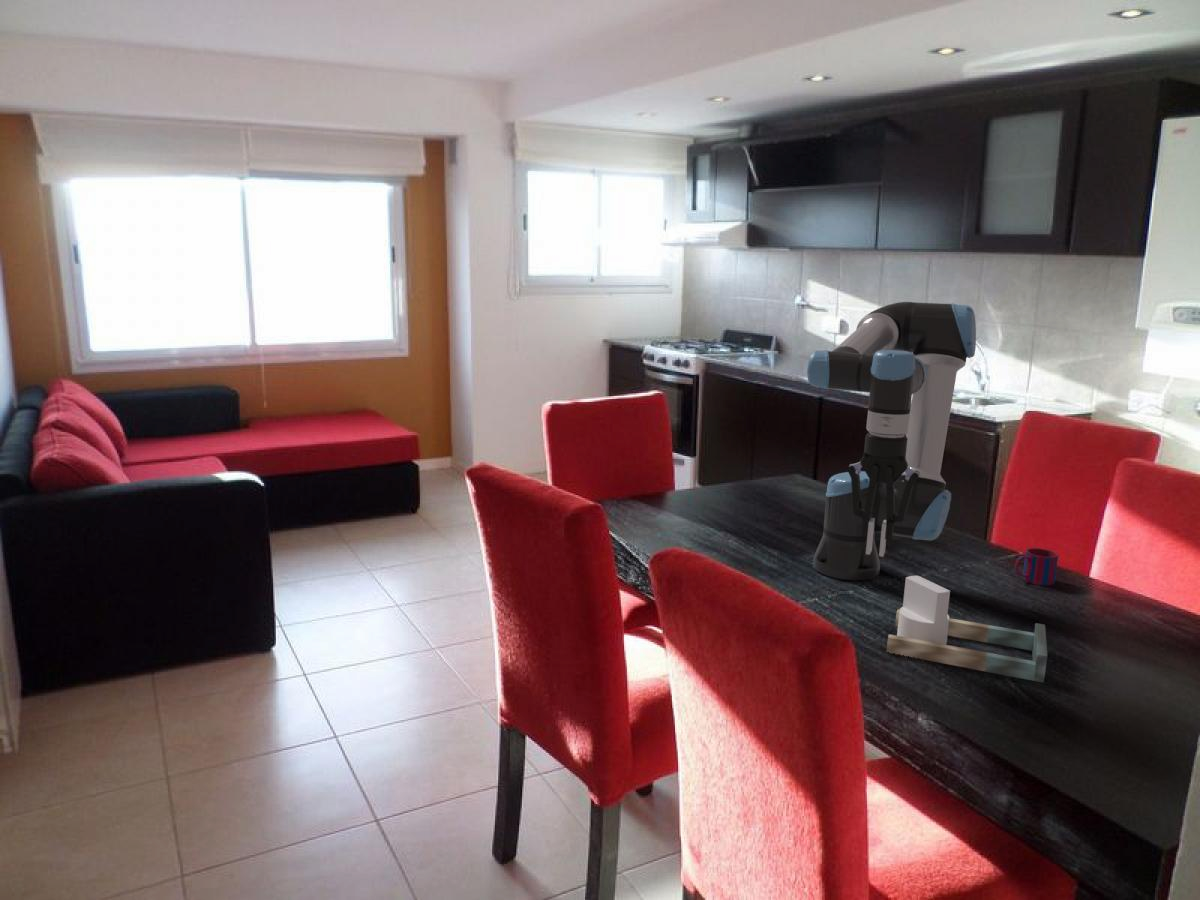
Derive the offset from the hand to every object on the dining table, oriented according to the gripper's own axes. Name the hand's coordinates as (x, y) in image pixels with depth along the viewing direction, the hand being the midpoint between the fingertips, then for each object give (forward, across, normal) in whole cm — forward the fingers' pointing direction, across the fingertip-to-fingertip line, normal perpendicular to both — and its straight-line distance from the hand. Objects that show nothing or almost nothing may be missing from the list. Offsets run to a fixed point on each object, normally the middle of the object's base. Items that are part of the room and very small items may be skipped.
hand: (875, 553), depth 174 cm
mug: (+17, +30, +48) cm, 59 cm away
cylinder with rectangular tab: (+17, +10, 0) cm, 20 cm away
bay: (+16, +17, 0) cm, 24 cm away
